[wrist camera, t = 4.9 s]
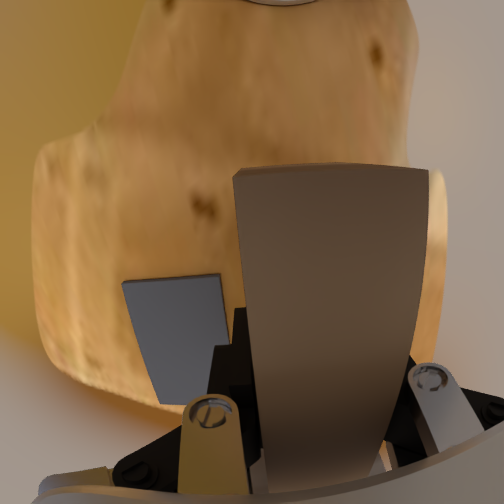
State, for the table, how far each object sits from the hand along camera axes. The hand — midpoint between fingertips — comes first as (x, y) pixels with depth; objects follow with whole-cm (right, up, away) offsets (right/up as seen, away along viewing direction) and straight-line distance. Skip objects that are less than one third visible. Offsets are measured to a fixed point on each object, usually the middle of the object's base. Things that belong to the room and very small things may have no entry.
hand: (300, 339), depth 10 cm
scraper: (0, 0, 0) cm, 0 cm away
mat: (-8, -6, +17) cm, 20 cm away
